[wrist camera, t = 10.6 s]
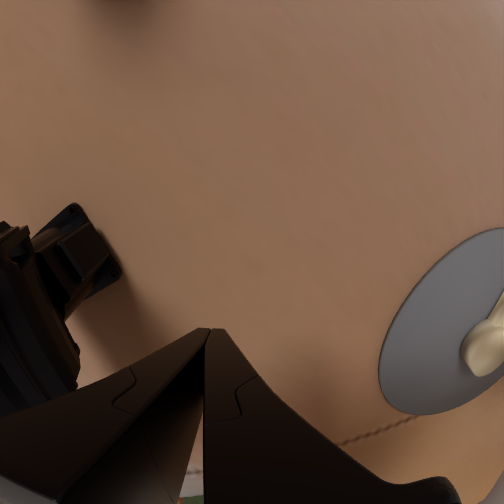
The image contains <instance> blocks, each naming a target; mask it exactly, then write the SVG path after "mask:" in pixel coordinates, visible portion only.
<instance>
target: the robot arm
mask: <svg viewBox="0 0 504 504" xmlns="http://www.w3.org/2000/svg"><path fill="white" fill-rule="evenodd" d="M72 207H73V208H74V209H75V213H74V212H73V210H72ZM29 234H30V231H29V228H28V225H26V226H23V227H20V228H19V226H16V227H11V226H10V225H9V224H7V223H6V222H5V221H2V222H0V504H177V502H178V499H179V495H180V492H181V488H182V484H183V481H184V477H185V474H186V470H187V466H188V463H189V459H190V456H191V452H192V448H193V445H194V441H195V438H196V434H197V431H198V427H199V423H200V420H201V416H202V413H203V488H204V504H462V503H461V500H460V498H459V495H458V493H457V491H456V489H455V488H454V486H453V485H452V483H451V482H450V481H449V480H448V479H447V478H446V477H442V476H437V477H430V478H426V479H422V480H419V481H415V482H412V483H407V484H393V483H389V482H386V481H384V480H382V479H380V478H379V477H377V476H376V475H375V474H373V473H372V472H371V471H369V470H368V469H366V468H365V467H364V466H362V465H361V464H360V463H358V462H357V461H356V460H354V459H353V458H352V457H351V456H349V455H348V454H347V453H345V452H344V451H343V450H341V449H340V448H339V447H338V446H336V445H335V444H334V443H333V442H331V441H330V440H329V439H328V438H326V437H325V436H324V435H323V434H321V433H320V432H319V431H318V430H317V429H315V428H314V427H313V426H312V425H311V424H309V423H308V422H307V421H306V420H305V419H303V418H302V417H301V416H300V415H299V414H297V413H296V412H295V411H294V410H293V409H292V408H290V407H289V406H288V405H287V404H286V403H285V402H284V401H283V400H281V399H280V398H279V397H278V396H277V395H276V394H275V393H274V392H273V391H272V390H271V389H270V387H269V386H268V385H267V384H266V383H265V381H264V380H263V379H262V378H261V376H259V374H258V373H257V372H256V370H255V369H254V368H253V366H252V365H251V364H250V363H249V361H248V360H247V359H246V357H245V356H244V355H243V353H242V352H241V351H240V349H239V348H238V347H237V345H236V344H235V343H234V341H233V340H232V338H231V337H230V336H229V334H228V333H227V332H226V330H225V329H217V328H213V329H212V330H211V329H210V328H197V329H195V330H193V331H192V332H190V333H188V334H186V335H185V336H183V337H181V338H179V339H177V340H176V341H174V342H172V343H170V344H168V345H167V346H165V347H163V348H161V349H159V350H158V351H156V352H154V353H152V354H150V355H149V356H147V357H145V358H143V359H141V360H139V361H137V362H136V363H134V364H132V365H130V366H129V367H125V368H124V369H122V370H120V371H118V372H116V373H114V374H112V375H110V376H108V377H106V378H104V379H101V380H99V381H97V382H94V383H92V384H90V385H87V386H85V387H82V388H80V389H77V387H78V383H77V382H76V380H77V377H78V374H79V371H80V358H79V355H80V349H79V347H78V345H77V343H75V342H74V340H73V338H72V336H71V334H70V332H69V330H68V328H67V326H66V324H65V321H66V320H67V319H68V318H69V316H70V315H71V314H72V313H73V312H74V310H75V309H76V308H77V307H78V306H79V304H80V303H81V302H82V301H84V300H85V299H87V298H89V297H90V296H92V295H93V294H95V293H97V292H98V291H100V290H102V289H103V288H105V287H107V286H108V285H110V284H112V283H113V282H115V281H117V280H118V279H119V278H120V277H121V275H122V271H121V269H120V267H119V266H118V265H117V263H116V262H115V260H114V259H113V257H112V256H111V254H110V253H109V250H108V248H107V247H106V245H105V244H104V242H103V241H102V239H101V238H100V236H99V234H98V233H97V231H96V230H95V228H94V227H93V225H92V224H91V223H90V222H89V220H88V219H87V217H86V216H85V214H84V212H83V211H82V209H81V207H80V206H79V205H78V204H77V203H72V204H70V205H68V206H67V207H66V208H65V209H64V210H62V211H61V212H60V213H59V214H58V215H57V216H56V217H54V218H53V219H52V220H51V221H50V222H49V223H48V224H47V225H46V226H44V227H43V228H42V229H41V230H40V231H39V232H38V233H37V234H36V235H35V236H34V237H33V238H32V239H30V236H29ZM113 271H115V272H116V273H117V275H115V274H114V273H113Z"/></svg>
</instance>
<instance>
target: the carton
mask: <svg viewBox="0 0 504 504" xmlns="http://www.w3.org/2000/svg"><path fill="white" fill-rule="evenodd" d="M177 504H204V495H201V496H193V497H183V498H179V499H178V502H177Z"/></svg>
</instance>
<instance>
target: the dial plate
mask: <svg viewBox="0 0 504 504" xmlns="http://www.w3.org/2000/svg"><path fill="white" fill-rule="evenodd" d="M503 292H504V228H495V229H490V230H486V231H484V232H481V233H479V234H476V235H474V236H472V237H470V238H469V239H467V240H465V241H463V242H462V243H460V244H459V245H457V246H456V247H455V248H453V249H452V250H450V251H449V252H448V253H447V254H446V255H445V256H443V257H442V258H441V259H440V260H439V261H437V262H436V264H435V265H434V266H433V267H432V268H431V269H430V270H429V271H428V272H427V273H426V274H425V275H424V276H423V277H422V278H421V280H420V281H419V282H418V283H417V284H416V286H415V287H414V288H413V289H412V291H411V292H410V294H409V295H408V296H407V298H406V299H405V301H404V302H403V303H402V305H401V307H400V308H399V310H398V312H397V313H396V315H395V317H394V319H393V321H392V323H391V325H390V327H389V329H388V331H387V334H386V336H385V339H384V342H383V345H382V348H381V352H380V357H379V365H378V375H379V382H380V386H381V389H382V391H383V394H384V395H385V397H386V399H387V401H388V402H389V403H390V404H391V405H392V406H393V407H395V408H396V409H398V410H400V411H402V412H404V413H408V414H412V415H432V414H437V413H442V412H445V411H448V410H451V409H454V408H456V407H459V406H461V405H463V404H465V403H467V402H469V401H471V400H472V399H474V398H476V397H477V396H479V395H480V394H482V393H483V392H484V391H486V390H487V389H488V388H490V387H491V386H492V385H493V384H494V383H496V382H497V381H498V380H499V379H500V378H501V377H502V376H503V375H504V361H503V362H502V363H501V365H500V366H499V367H497V368H496V369H495V370H494V371H492V372H491V373H489V374H487V375H485V376H481V377H478V376H476V375H474V373H473V372H472V370H471V369H470V368H469V366H468V365H467V364H466V362H465V361H464V359H463V358H462V356H461V346H462V344H463V341H464V339H465V338H466V336H467V335H468V333H469V332H470V331H471V330H472V329H473V328H474V327H475V326H476V325H477V324H478V323H480V322H481V321H483V320H485V319H488V317H489V315H490V314H491V312H492V310H493V309H494V307H495V305H496V304H497V302H498V300H499V299H500V297H501V295H502V293H503Z"/></svg>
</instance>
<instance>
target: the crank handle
mask: <svg viewBox="0 0 504 504" xmlns="http://www.w3.org/2000/svg"><path fill="white" fill-rule="evenodd" d="M461 356H462V358H463V359H464V361H465V362H466V364H467V365H468V366H469V368H470V369H471V370H472V372H473V373H474V375H476V376H478V377H481V376H485V375H487V374H489V373H491V372H492V371H494V370H495V369H496V368H497V367H499V366H500V365H501V363H502V362H503V361H504V292H503V293H502V295H501V297H500V299H499V300H498V302H497V304H496V305H495V307H494V309H493V310H492V312H491V314H490V315H489V317H488V319H485V320H483V321H481V322H480V323H478V324H477V325H476V326H475V327H474V328H473V329H472V330H471V331H470V332H469V333H468V335H467V336H466V338H465V339H464V341H463V344H462V346H461Z"/></svg>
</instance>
